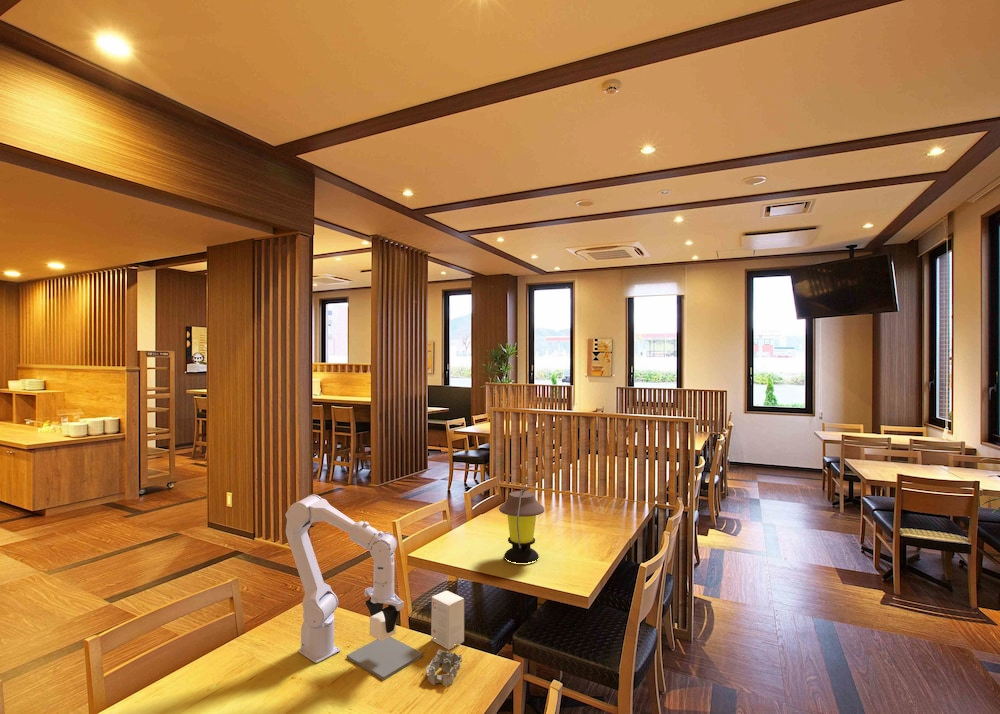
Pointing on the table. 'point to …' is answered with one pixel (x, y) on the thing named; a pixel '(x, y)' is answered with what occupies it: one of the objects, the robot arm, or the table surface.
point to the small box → (447, 619)
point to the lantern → (521, 525)
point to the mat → (384, 657)
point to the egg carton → (443, 667)
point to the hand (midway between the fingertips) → (383, 628)
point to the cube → (379, 627)
